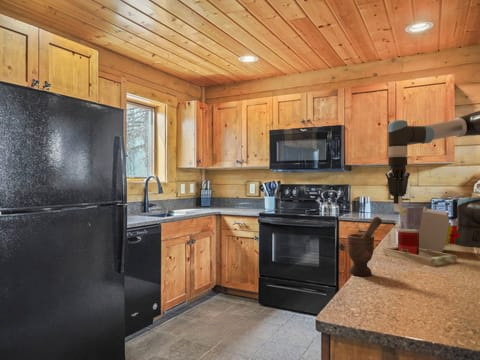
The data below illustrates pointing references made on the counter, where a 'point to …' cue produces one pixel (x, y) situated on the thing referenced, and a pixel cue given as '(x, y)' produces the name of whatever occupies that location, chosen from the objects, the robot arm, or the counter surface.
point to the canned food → (408, 241)
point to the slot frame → (422, 256)
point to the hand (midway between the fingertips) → (398, 211)
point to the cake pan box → (411, 217)
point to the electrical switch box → (436, 230)
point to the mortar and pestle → (362, 249)
